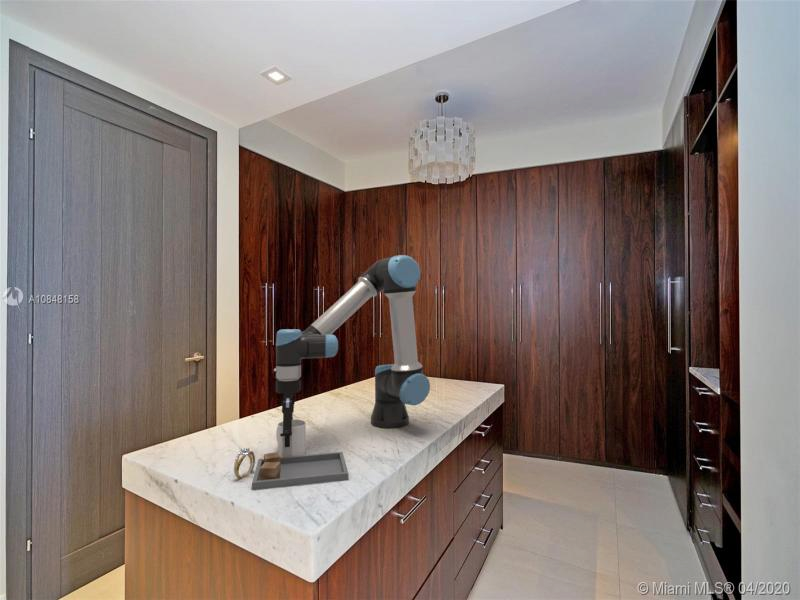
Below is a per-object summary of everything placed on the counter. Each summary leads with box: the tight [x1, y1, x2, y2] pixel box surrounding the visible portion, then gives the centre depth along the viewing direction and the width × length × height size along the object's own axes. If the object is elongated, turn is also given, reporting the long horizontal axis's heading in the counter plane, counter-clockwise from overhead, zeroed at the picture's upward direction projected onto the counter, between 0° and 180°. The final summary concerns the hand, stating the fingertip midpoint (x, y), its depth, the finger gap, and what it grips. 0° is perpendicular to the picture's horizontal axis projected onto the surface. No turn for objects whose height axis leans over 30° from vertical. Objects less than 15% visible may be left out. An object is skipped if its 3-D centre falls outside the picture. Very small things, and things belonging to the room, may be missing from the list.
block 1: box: [263, 451, 280, 463], centre depth 112 cm, size 4×4×4 cm
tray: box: [251, 451, 349, 491], centre depth 111 cm, size 24×16×2 cm, turn 104°
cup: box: [275, 419, 307, 457], centre depth 126 cm, size 8×12×10 cm
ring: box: [233, 447, 256, 480], centre depth 108 cm, size 7×3×8 cm, turn 156°
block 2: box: [260, 462, 280, 480], centre depth 106 cm, size 4×4×4 cm
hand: (287, 451), depth 125 cm, fingers open, 10 cm apart
